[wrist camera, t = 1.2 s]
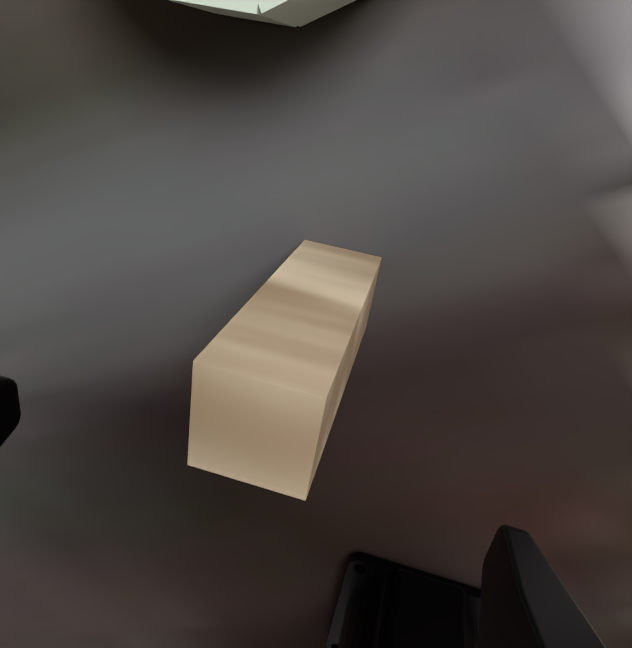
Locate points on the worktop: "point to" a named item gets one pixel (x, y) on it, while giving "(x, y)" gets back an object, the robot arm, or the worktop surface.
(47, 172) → the worktop surface
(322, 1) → the light green piece
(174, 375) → the worktop surface
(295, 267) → the wooden square beam
